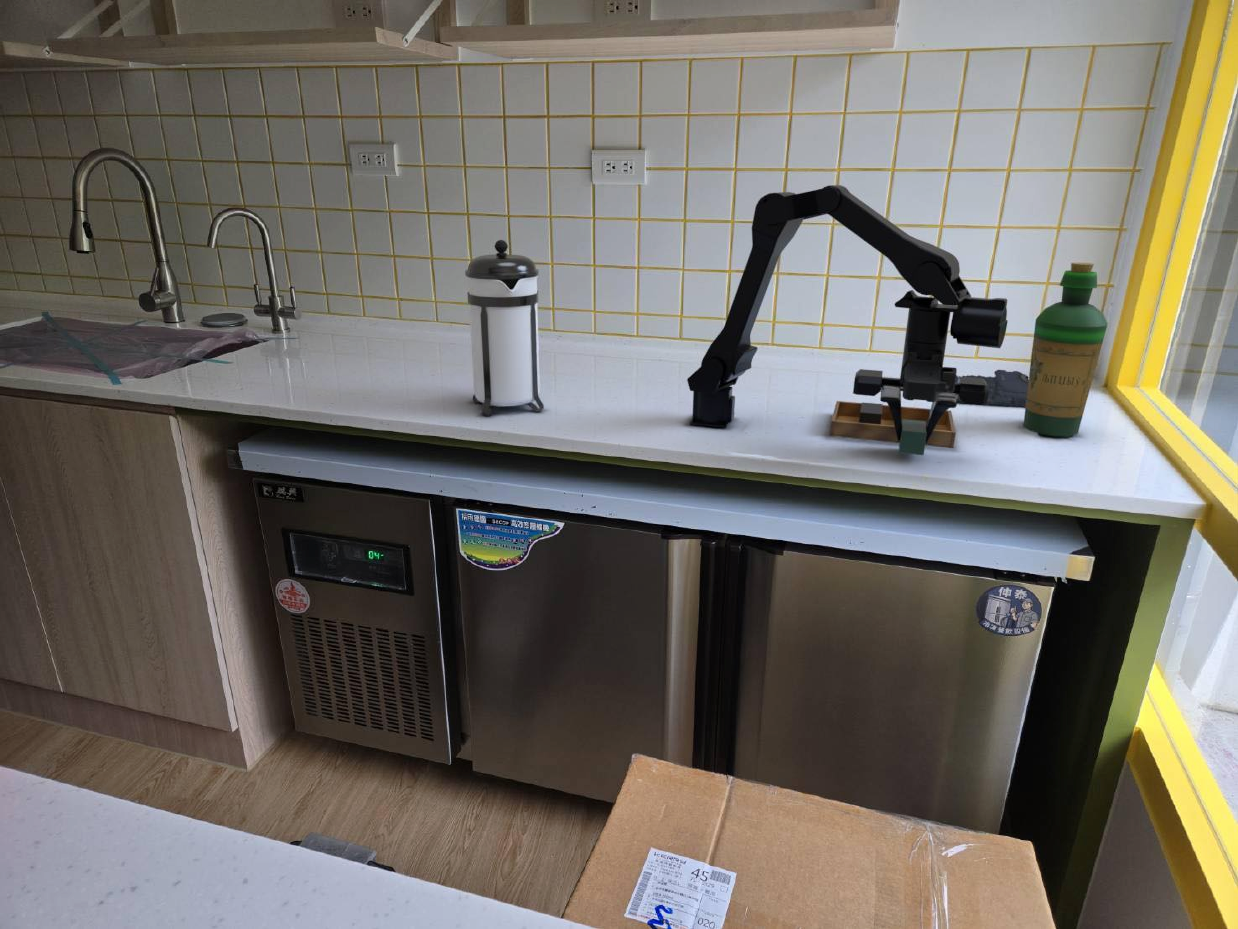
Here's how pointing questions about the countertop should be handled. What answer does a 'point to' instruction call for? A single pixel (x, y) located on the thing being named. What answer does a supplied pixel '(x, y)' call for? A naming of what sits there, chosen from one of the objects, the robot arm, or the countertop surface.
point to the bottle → (1064, 356)
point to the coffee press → (504, 330)
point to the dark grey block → (870, 413)
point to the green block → (912, 437)
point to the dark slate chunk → (1005, 388)
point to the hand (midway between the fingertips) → (911, 441)
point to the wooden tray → (888, 424)
